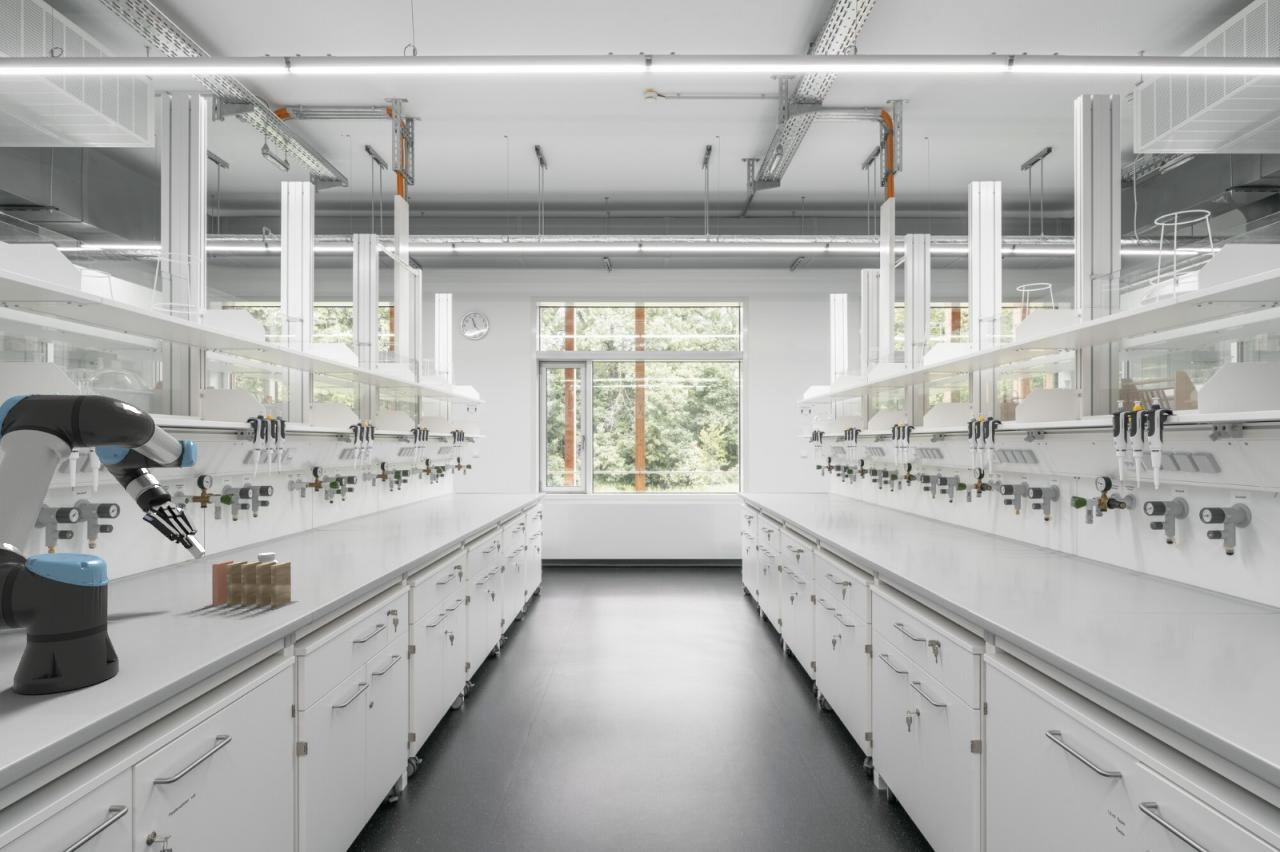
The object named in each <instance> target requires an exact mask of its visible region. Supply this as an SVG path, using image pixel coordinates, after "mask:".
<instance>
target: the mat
mask: <svg viewBox="0 0 1280 852" xmlns="http://www.w3.org/2000/svg"><path fill="white" fill-rule="evenodd" d="M299 602H300V601H299V600H295V601H294V600H291V603H289V604H286V605H283V606H280V607H277V608H271V604H269V605H266V606H263V607H256V604H253V605H250V606H247V607H245V606H241V603H240V604H237V605H234V606H227V603H224V604H221V605H212V603H211V604H209V605H204V606H203V608H223V609H225V608H227V609H248V610H249V609H250V610H276V611H277V610H279V609H282V608H285V607H287V606H290V605H293V604H296V603H299Z"/></svg>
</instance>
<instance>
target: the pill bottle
mask: <svg viewBox="0 0 1280 852" xmlns="http://www.w3.org/2000/svg"><path fill="white" fill-rule="evenodd" d="M276 555H277V554H276V552H261V553H258V554H257V560H258V561H262V564H264V563H268V562H276V564H279V561H278V560H277V559H276Z"/></svg>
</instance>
